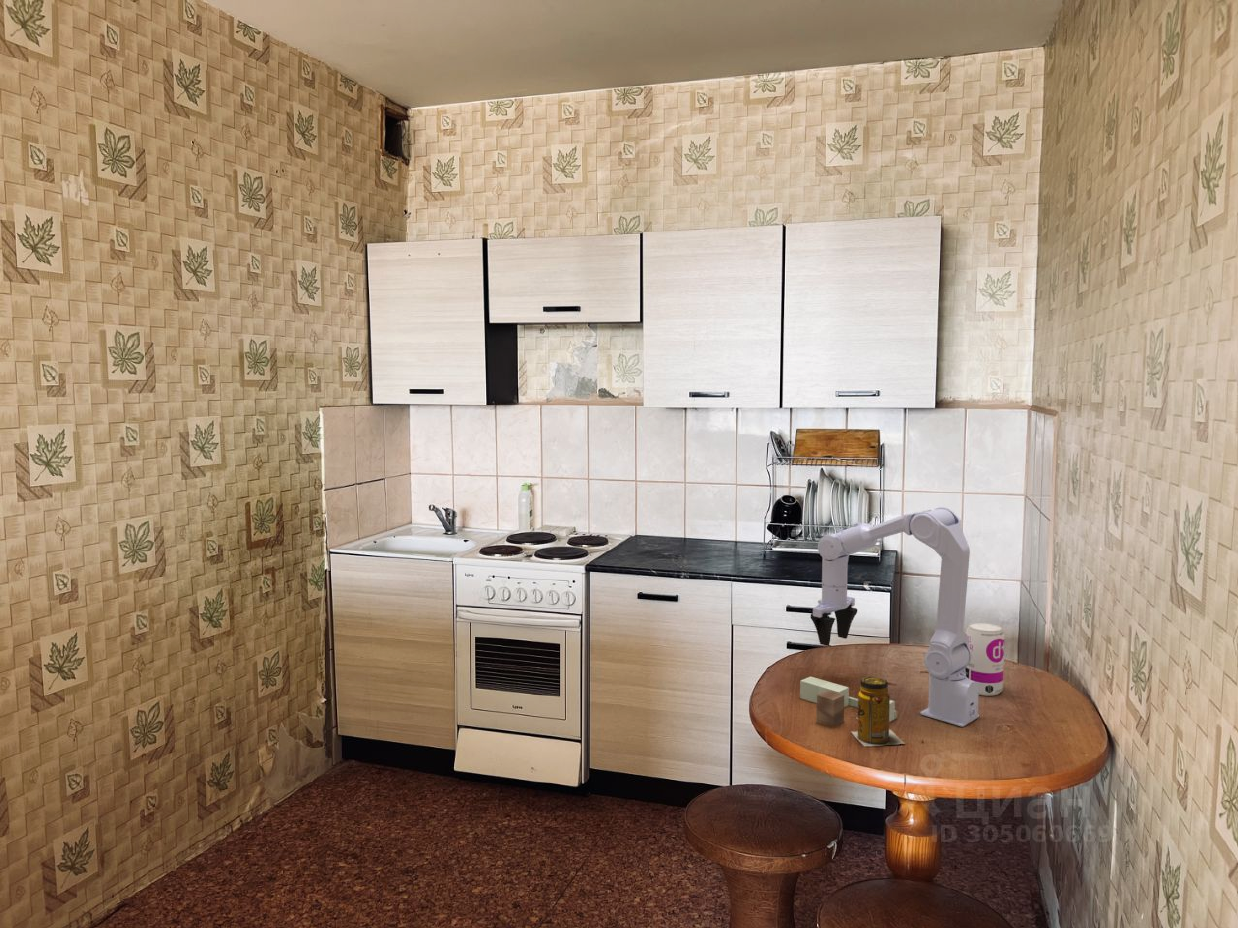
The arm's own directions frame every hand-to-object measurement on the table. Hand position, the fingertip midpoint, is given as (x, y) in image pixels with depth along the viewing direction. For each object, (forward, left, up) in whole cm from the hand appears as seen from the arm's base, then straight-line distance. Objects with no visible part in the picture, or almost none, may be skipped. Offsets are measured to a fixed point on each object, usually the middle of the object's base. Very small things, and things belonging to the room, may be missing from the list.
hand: (833, 640), depth 202 cm
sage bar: (-11, +12, -10) cm, 19 cm away
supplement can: (-27, -20, -10) cm, 35 cm away
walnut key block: (-13, +21, -10) cm, 26 cm away
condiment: (-24, +21, -10) cm, 33 cm away
